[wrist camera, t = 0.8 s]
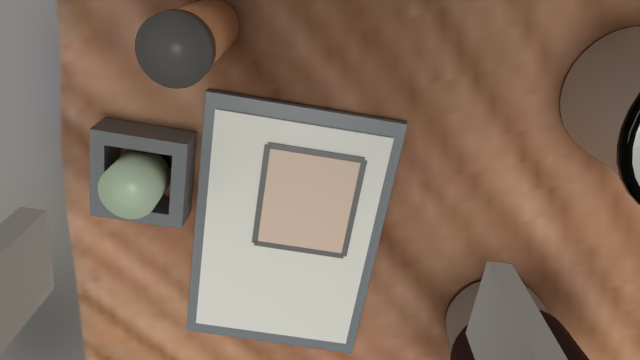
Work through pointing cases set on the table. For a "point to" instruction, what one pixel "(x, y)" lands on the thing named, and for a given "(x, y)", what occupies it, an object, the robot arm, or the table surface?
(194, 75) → the marker
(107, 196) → the button
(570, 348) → the coffee cup
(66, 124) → the table surface
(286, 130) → the picture board
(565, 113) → the mug
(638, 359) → the table surface
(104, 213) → the button housing
